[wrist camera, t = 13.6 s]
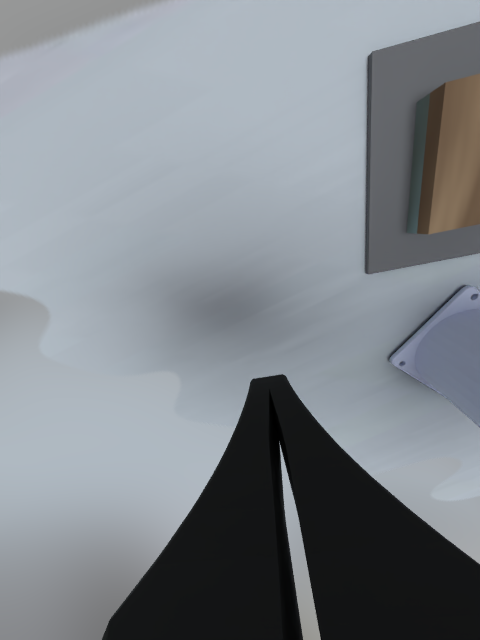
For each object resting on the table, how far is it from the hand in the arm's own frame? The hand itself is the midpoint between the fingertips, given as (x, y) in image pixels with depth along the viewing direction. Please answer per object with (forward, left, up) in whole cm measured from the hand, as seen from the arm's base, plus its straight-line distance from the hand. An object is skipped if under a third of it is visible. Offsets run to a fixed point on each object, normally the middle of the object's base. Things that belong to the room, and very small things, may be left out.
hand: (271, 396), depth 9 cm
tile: (-3, -13, -8) cm, 16 cm away
